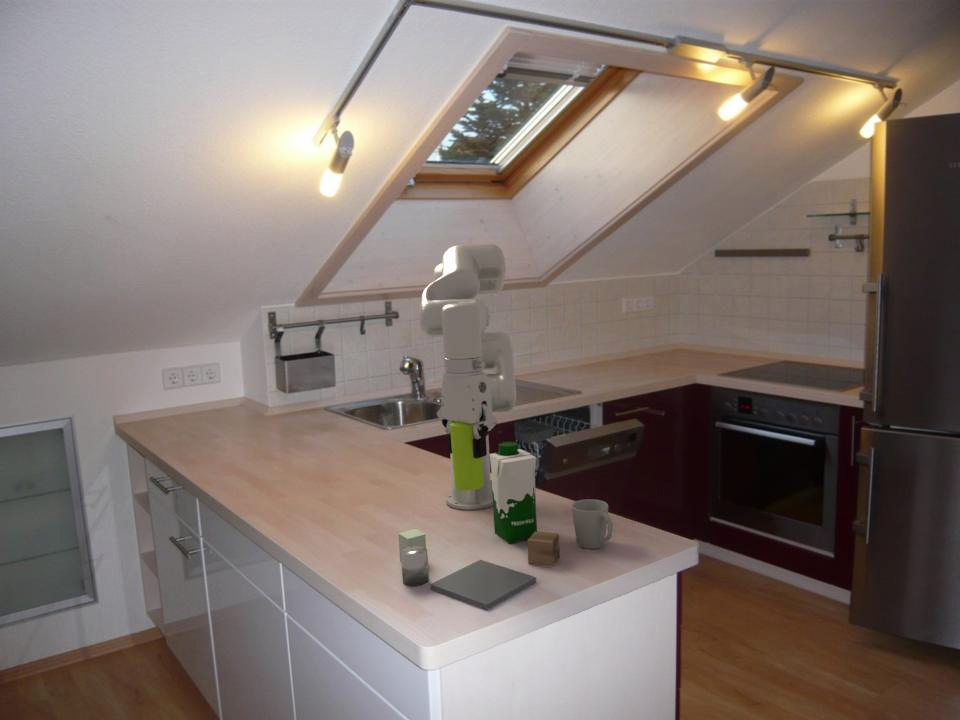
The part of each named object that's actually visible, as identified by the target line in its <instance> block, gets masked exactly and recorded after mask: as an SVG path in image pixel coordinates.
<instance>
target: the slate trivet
mask: <svg viewBox="0 0 960 720" xmlns="http://www.w3.org/2000/svg"><path fill="white" fill-rule="evenodd" d="M535 583H537V576H534V575H530V574H528V573H524V572H522V571H518V570H514V569H511V568H508V567H504V566H501V565H499V564H496V563H492V562H489V561H486V560H484V559H483V560H482V559H479V560H477V561H475V562H473V563H471V564H468V565H466V566H465V567H462V568H460V569H458V570H457V571H454V572H452V573H450V574H448V575H446V576H444V577H442V578H440V579H438V580H436V581H434V582H432V583H430V584H429V585H430V586H429V587H430V590H431V591H435V592H437V593H440V594H442V595H445V596H448V597H450V598H453V599H455V600H459V601H462V602H464V603H467V604H470V605H472V606H475V607H478V608H480V609H483V610H486V611H488V610H489V609H491V608H493V607H495V606H497V605H498V604H500V603H501V602H503V601H506V600H508V599H509V598H511V597H513V596H514V595H516V594H518V593H521V591H523V590H525V589H527V588H528V587H530V586H532V585H534V584H535Z"/></svg>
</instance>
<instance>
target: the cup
mask: <svg viewBox="0 0 960 720" xmlns="http://www.w3.org/2000/svg"><path fill="white" fill-rule="evenodd" d="M570 506H571V511H572V518H573V519H572V520H573V521H572V522H573V527H574V528H573V529H574V532H575V538H576V539H575V540H576V543H577V545H578V547H580V548H581V549H582V548H583V549H585V548H586V549H587V550H594V549H595V550H596V549H600V548H602V547H603V546H605V544H606V542H609V540H610V539H611V538H612V535H613V530H614V529H613V528H614V527H613V520H612V519H611V517H610V515H609V504H608V503H607V502H606V501H604V500H600V499H587V498H586V499H580V500H576V501H574V502H573V503H572V504H571V505H570Z"/></svg>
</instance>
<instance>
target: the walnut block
mask: <svg viewBox="0 0 960 720" xmlns="http://www.w3.org/2000/svg"><path fill="white" fill-rule="evenodd" d="M526 541H527V561H528V565H534V566H544V567H554V566H555V565H556V563H557V562H558V560H559V559H560V555H561V554H560V533H555V532H545V531H538V530H537V531H535V532H534V533H533V534H532V536H531V537H530V538H529V539H528V540H526Z"/></svg>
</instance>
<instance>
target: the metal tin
mask: <svg viewBox="0 0 960 720" xmlns="http://www.w3.org/2000/svg"><path fill="white" fill-rule="evenodd" d="M401 561H402V562H401V572H402V573H401V576H402V583H403V585H404V586H407V587H421V586H424V585H427V583H429V580H430V578H429V577H430V576H429V575H430V573H429V559H428V549H427V547H426V548H425V547H422V546H411V547H407V548H404V549H403V550H402V551H401Z"/></svg>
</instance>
